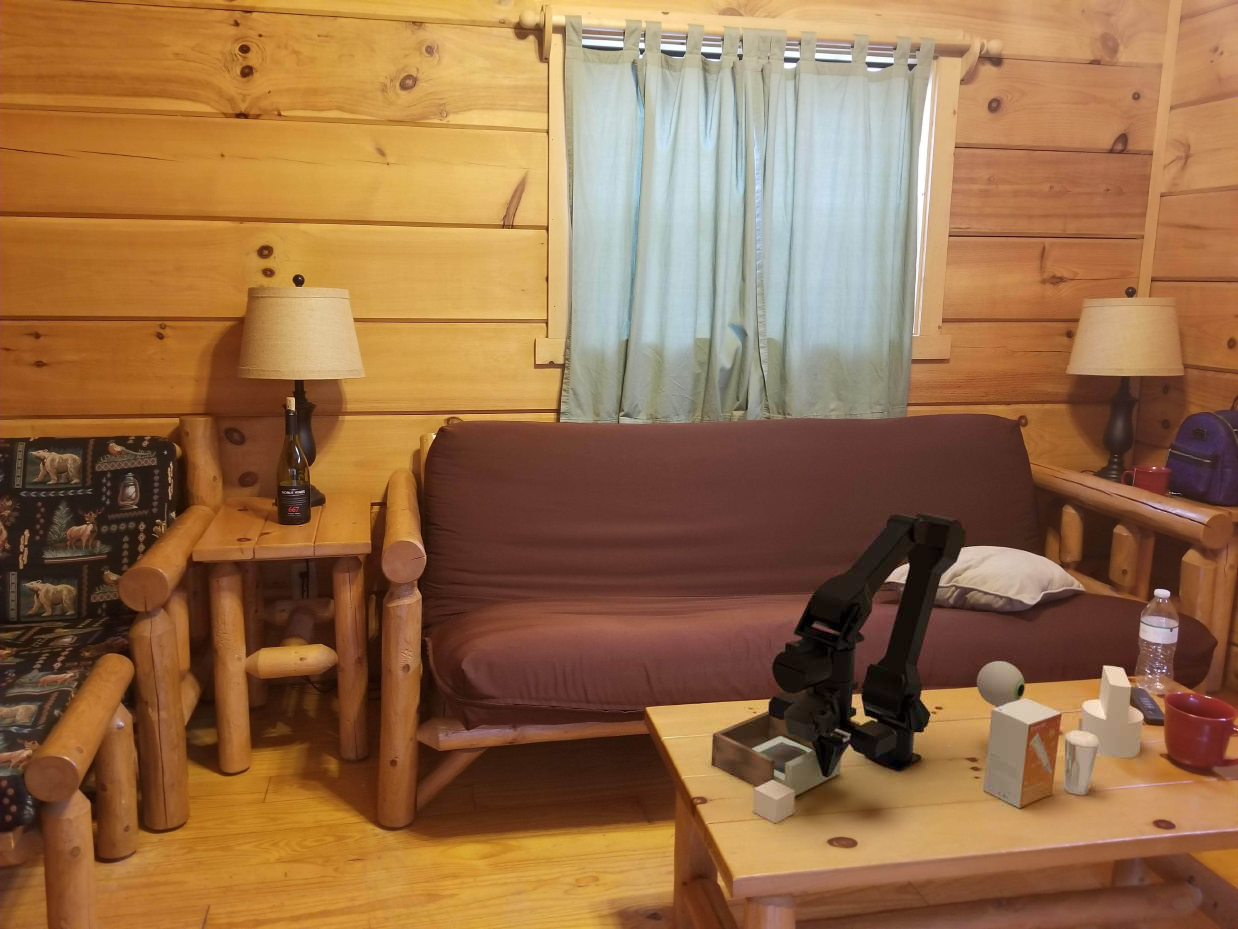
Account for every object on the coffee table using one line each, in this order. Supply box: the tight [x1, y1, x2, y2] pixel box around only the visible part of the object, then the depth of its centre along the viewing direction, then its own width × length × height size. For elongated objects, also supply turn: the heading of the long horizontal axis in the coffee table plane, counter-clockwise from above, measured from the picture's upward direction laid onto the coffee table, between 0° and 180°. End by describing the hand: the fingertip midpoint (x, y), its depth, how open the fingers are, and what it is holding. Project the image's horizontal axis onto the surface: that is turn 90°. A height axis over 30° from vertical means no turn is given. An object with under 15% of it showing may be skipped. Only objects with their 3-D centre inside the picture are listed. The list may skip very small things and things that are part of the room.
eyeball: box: [976, 660, 1026, 708], centre depth 158 cm, size 7×7×15 cm
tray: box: [752, 736, 842, 797], centre depth 150 cm, size 11×12×5 cm
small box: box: [982, 697, 1062, 809], centre depth 145 cm, size 8×6×13 cm
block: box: [752, 780, 796, 824], centre depth 139 cm, size 4×4×4 cm
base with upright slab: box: [1080, 665, 1144, 759], centre depth 162 cm, size 9×9×12 cm
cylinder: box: [766, 745, 807, 774], centre depth 150 cm, size 6×6×2 cm
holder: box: [711, 710, 814, 788], centre depth 153 cm, size 12×13×5 cm
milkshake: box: [1063, 718, 1099, 796], centre depth 147 cm, size 4×5×10 cm
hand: (826, 776), depth 145 cm, fingers closed
